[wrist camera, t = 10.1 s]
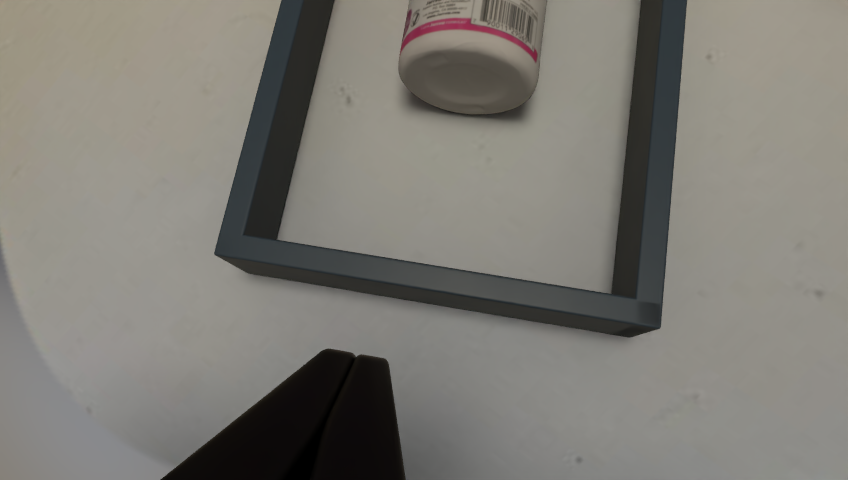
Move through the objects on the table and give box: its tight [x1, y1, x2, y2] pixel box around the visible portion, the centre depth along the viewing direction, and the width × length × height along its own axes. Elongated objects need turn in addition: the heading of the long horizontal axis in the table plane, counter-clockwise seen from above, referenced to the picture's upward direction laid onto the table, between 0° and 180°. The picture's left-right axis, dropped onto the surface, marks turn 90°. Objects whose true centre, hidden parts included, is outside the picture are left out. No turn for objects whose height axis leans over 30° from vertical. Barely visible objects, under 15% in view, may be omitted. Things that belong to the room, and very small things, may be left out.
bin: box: [214, 0, 687, 337], centre depth 21 cm, size 18×14×3 cm
